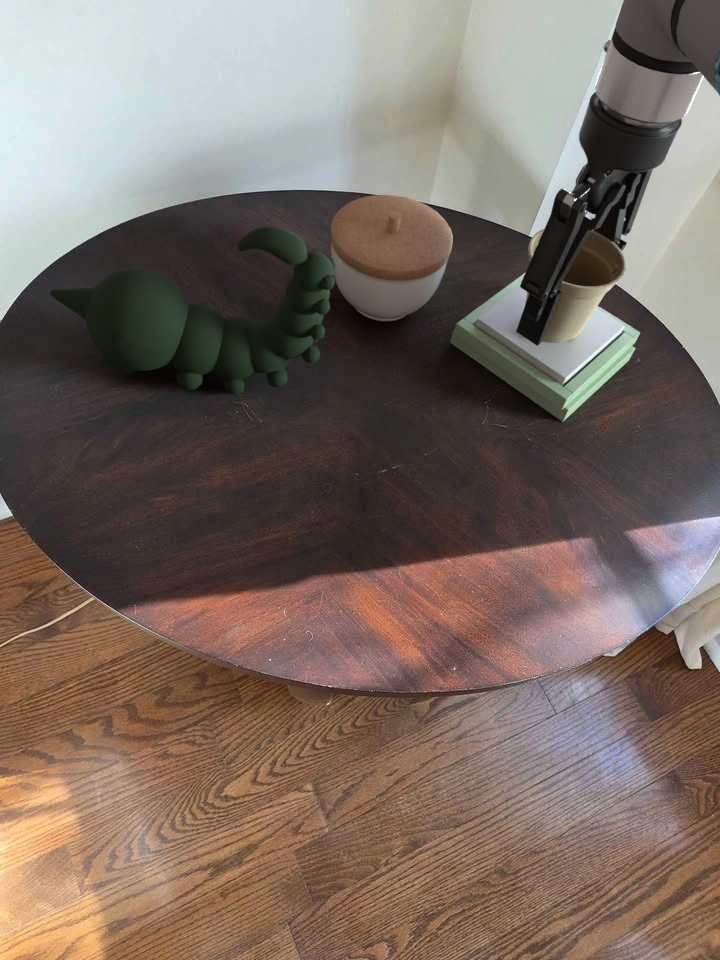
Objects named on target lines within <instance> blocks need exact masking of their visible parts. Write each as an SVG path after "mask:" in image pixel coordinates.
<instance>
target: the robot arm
mask: <svg viewBox="0 0 720 960" xmlns="http://www.w3.org/2000/svg"><path fill="white" fill-rule="evenodd" d="M602 49H603V52H604V53H605V56H604V58H603V62H602V64H601V67H600V71H599V73H598V76H597V79H596V82H595V84H594V85H595V86H594V90H595V91H594V92H593V94H591V96H590V98H589V100H588V104H587V106H586V109H585V113H584V114H583V118H582V121H581V124H580V126H579V130H578V137H577V138H578V143H579V145H580V147H581V149H582V151H583V153H584V155H585V157H586V159H587V163H586V164H584V165H583V167H582V168H581V169H580V171H579V173H578V175H577V176H576V178H575V186H574V188H573V190H572V191H571V192H570V191H568V190H567V189H565V188H560V189H559V190H558V192H557V193H556V195H555V196H554V200H553V204H552V208H551V212H550V215H549V218H548V220H547V222H546V224H545V227H544V228H543V229H544V231H543V234H542V236H541V238H540V240H539V243H538V245H537V247H536V250H535V252H534V254H533V257H532V259H531V261H530V260H529V264H528V266H527V268H526V271H525V272H524V273H525V275H524V277H523V280H522V282H521V285H520V287H521V288H522V289H524V290H525V291H527V292H528V293H529V296H528V299H527V302H526V304H525V307H524V310H523V313H522V316H521V319H520V322H519V324H518V327H517V330H516V332H517V333H519V334H520V335H522V336H523V337H525V338H526V339H528V340H529V341H531V342H532V343H534V344H535V345H537V346H538V345H539V344H540V343H542V340H543V338H544V335H545V333H546V330H547V328H548V325H549V323H550V320H551V318H552V315H553V312H554V310H555V307H556V305H557V302H558V300H559V297H560V295H561V292H560V291H559V290H558V289H559V287H560V285H561V284H562V282H563V280H564V278H565V277H566V275H567V273H568V271H569V270H570V268H571V266H572V264H573V263H574V261H575V259H576V257H577V256H578V254H579V252H580V250H581V249H582V247H583V245H584V243H585V242H586V240H587V238H588V236H589V235H590V233H591V231H592V230H594V231H595V232H598V233H600V234H602V235H604V236H606V237H607V238H609V239H610V240H611V241H612V242H614V243H615V244H616V245H617V246H618V247H619V249H620V250H621V251H622V252H623V250H624V249H626V246H627V241H625V240H623V239H622V235H623V236H624V237H626V236H627V235H629V234H630V233H631V231H632V228H633V226H634V222H635V220H636V218H637V214H638V212H639V209H640V207H641V203H642V201H643V198H644V196H645V192H646V190H647V186H648V185H649V181H650V179H651V176H652V173H653V171H654V170H655V169H656V168H658V167H660V166H661V165H663V163H664V162H665V161H666V159H667V158H668V156H669V153H670V151H671V148H672V147H673V144H674V142H675V140H676V137H677V135H678V133H679V131H680V129H681V126H682V124H683V118H684V117H685V116H686V115H687V114H688V112H689V110H690V108H691V106H692V103H693V102H694V99H695V98H696V97H695V96H696V95H697V92H698V90H699V88H700V85H701V83H702V81H703V79H705V80H706V81H707V82H708V83H709V85H710V86H711V87H712V88H713V89H714V91H715V92H716V93H717V94H718V96H719V97H720V0H623V1H622V4H621V7H620V10H619V13H618V16H617V19H616V22H615V27H614V30H613V33H612V36H611V38H610V39H608V40H607V41H606V42H605V43H604V45H603V48H602ZM588 213H590V214H592V215H594V217H591V216H589V215H588Z"/></svg>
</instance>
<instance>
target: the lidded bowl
mask: <svg viewBox="0 0 720 960" xmlns="http://www.w3.org/2000/svg"><path fill="white" fill-rule="evenodd" d="M453 242H454V239H453V233H452V230H451V227H450V225H449V224H448V222H447V220H446V219H445V218H444V217H443V216H442V215H441V214H440V213H439V212H438V211H437V210H435V209H433V208H432V207H431V206H429V205H427V204H425V203H423V202H421V201H418V200H415V199H413V198H409V197H405V196H400V195H394V194H374V195H367V196H364V197H360V198H357V199H353V200H352V201H350V202H348V203H346V204H345V205H344V206H343V207H341V208H340V209H339V210H338V211H337V212H336V213H335V215H334V217H333V218H332V222H331V225H330V257H332V258H333V259H334V260H335V262H336V266H335V268H334V270H333V272H334V273H333V278H334V280H335V284H336V286H337V289H338V291H339V292H340V294H341V295H342V297H343V298H344V299H345V300H346V302H347V303H349V304H350V305H351V306H352V307H353V308H354V309H355V310H356V311H357V312H358V313H359V314H361V315H362V316H364V317H366V318H368V319H370V320H373V321H378V322H392V321H393V322H394V321H398V320H401V319H403V318H405V317H407V316H408V315H411V314H413V313H415V312H416V311H418V310H419V309H421V308H422V307H424V306H425V305H426V304H427V303H428V302H429V301H430V300H431V298H432V297H433V296H434V295H435V293H436V292H437V290H438V288H439V286H440V284H441V281H442V279H443V276H444V275H445V271H446V268H447V264H448V260H449V258H450V255H451V253H452V249H453Z"/></svg>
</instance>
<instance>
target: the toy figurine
mask: <svg viewBox="0 0 720 960" xmlns="http://www.w3.org/2000/svg"><path fill="white" fill-rule="evenodd" d="M237 249H238V250H239V251H240V252H245V251H247V250H251V249H253V250H260V251H263V252H266V253H269V254H270V255H273V256H274V257H276V258H277V259H278V260H280V261H281V262H283V263H285V264H286V265H290V266H293V274H292V276H291V277H290V278H289V279H288V281H287V283H286V287H285V296H283V298H281V299H280V302H279V303H278V305H277V310H276V312H275V313H273V315H271V316H270V317H269V319H268V320H260V321H257V322H254V321H253V320H251V319H249V318H246V317H244V316H238V315H230V316H224V315H223V314H222V313H220V311H218V309H216V308H214V307H212V306H211V305H208V304H206V303H201V302H200V303H199V302H189V301H188V299H187V297H186V295H185V293H184V292H183V290H182V289H181V288H180V286H179V285H178V284H177V283H176V282H174V281H173V280H172V279H171V278H170V277H168V276H166V275H165V274H163V273H161V272H159V271H156V270H153V269H150V268H146V267H142V266H133V267H125V268H121V269H118V270H115V271H112V272H111V273H109V274H108V275H105V276H104V277H103V278H102V279H101V280H100V281H98V283H96V284H95V285H94V286H90V287H77V288H75V287H74V288H55V289H52V290H50V292H49V294H50V297H52V298H53V299H55V300H56V301H58V302H59V303H60V304H62V305H63V306H65V307H66V308H68V309H69V310H71V311H72V312H73V313H75V314H76V315H78V316H79V317H81V318H82V319H83V320H84V322H85V325H86V329H87V331H88V335H89V337H90V340H91V341H92V342H93V344H94V346H95V348H96V349H97V350H98V352H99V353H100V359H101V361H102V362H103V363H104V364H105V365H109V366H112V365H114V366H115V369H117V371H119V372H120V373H122V374H125V375H134V374H137V373H138V372H141V371H151V370H157V369H160V368H163V367H165V366H167V365H171V366H172V367H173V368H175V369H176V371H175V379H176V383H177V384H178V386H179V387H180V388H182V389H184V390H185V391H194V390H197V388H198V387H200V386H201V385H202V384H203V380H204V375H207V374H210V373H213V372H214V373H215V374H217V375H218V376H219V377H222V378H224V379H225V380H224V384H223V387H224V388H225V391H226V392H227V393H228V394H230V395H232V396H233V395H234V396H238V395H240V394H242V393H243V392H244V390H245V388H246V379H249V378H252V377H253V376H255V375H257V373H258V374H263V375H266V380H267V383H268V385H269V386H271V387H273V388H276V389H279V388H283V387H284V385H286V383H287V382H288V373H287V370H286V369H285V367H286V366H288V364H289V362H290V361H291V360H292V359H293V360H294V359H296V358H299V357H300V356H301V358H302V359H303V361H304V362H305V363H308V364H315V363H316V362H317V361H319V360H320V356H321V351H320V349H319V348H318V347H317V345H314V344H317V343H318V342H319V341H320V340H322V339H323V338H324V337H325V335H326V328H325V327H324V326H323V324H322V323H323V319H324V315H326V314H328V313H329V311H330V308H331V304H330V301H329V299H330V296H331V290H332V289H333V288H334V286H335V284H336V281H335V279H334V274H333V273H334V272H333V270H334V268H335V266H336V262H335V260H334V259H333V258H332V257H331V255H330V256H329V255H325V254H324V253H322V252H320V251H307V250H308V249H307V246H306V243H305V241H304V240H303V239H302V237H301V236H300V235H298V234H296V233H295V232H294V231H292V230H289V229H287V228H284V227H279V226H261V227H258V228H255V229H253V230H251V231H249V232H248V233H246V234H245V235H244V236H242V237H241V238H240V239H239V241H238V243H237Z"/></svg>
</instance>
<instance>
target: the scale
mask: <svg viewBox="0 0 720 960" xmlns="http://www.w3.org/2000/svg"><path fill="white" fill-rule="evenodd" d="M525 273H526V272H523V274H521V275H520V276H519V277H516V279H515V280H513V281H512V282H510V283H509V284H508V285H507V286H505V287H504V288H502V289H500V290H499V292H497V293H496V294H494V295H493V296H491V297H490V298H489V299H488V300H486V301H485V302H483V303H482V304H481V305H480V306H478V307H476V308H475V309H474V310H473V311H471V312H470V313H469V314H467V315H466V316H465V317H463V318H461V319H460V320H459V321H457V322H456V323H455V328H454V329H453V330H452V334H451V337H450V344H451V345H453V346H454V347H455V348H457V349H458V350H459V351H461V352H463V353H464V354H465V355H467V356H468V357H470V358H471V359H473V360H474V361H475V362H476V363H478V364H480V365H481V366H482V367H484V368H485V369H486V370H488V371H490V372H491V373H493V374H494V375H495V376H496V377H498V378H499V379H501V380H503V381H504V382H505V383H507V384H508V385H509V386H510V387H513V388H514V389H515V390H516V391H518V392H519V393H521V394H523V395H524V396H525V397H526V398H528V399H529V400H531V401H532V402H533V403H535V404H537V405H538V406H539V407H541V408H542V409H544V410H545V411H546V412H548V413H549V414H551V415H552V416H553V417H555V418H556V419H557V420H559V421H560V422H562V423H563V422H565V421H566V420H567V419H568V418H569V417H570V416H571V415H572V414H573V413H575V411H576V410H577V409H578V408H579V407H581V405H583V404H584V403H585V402H586V401H587V400H588V399H589V398H590V397H592V395H593V394H594V393H596V392H597V391H598V390H599V389H600V388H601V387H602V386H604V384H605V383H607V382H608V381H609V380H610V379H611V378H612V377H613V376H614V375H615V374H616V373H618V372H619V370H621V368H623V367H624V366H625V365H626V364H627V363H628V362H629V361H630V360H631V358H632V356H633V354H634V352H635V350H636V347H635V346H634V345H635V344H636V342H637V340H638V338H639V336H640V334H641V332H640V331H638V330H637V329H636V328H634V327H633V326H631V325H629V324H627V323H626V322H624V321H623V320H621V319H620V318H618V317H617V316H615V315H613V314H612V313H611V312H608V311H607V310H605V309H604V308H602V307H601V306H599V305H598V306H597V307H596V308H597V309H598V310H600V311H602V312H603V313H605V314H606V315H608V316H610V317H611V318H613V319H614V320H616V321H617V322H619V323H621V324H622V325H624V328H623V330H622V332H621V334H620V336H619V337H618V338H617V339H616V340H615V341H614V342H613V343H611V344H610V345H609V346H608V347H607V348H606V349H605V350H604V351H603V352H601V353H600V354H599V355H598V356H597V357H596V358H595V359H594V360H592V361H591V362H590V363H589V364H588V365H587V366H586V367H585V368H583V369H582V370H581V371H580V372H579V373H578V374H577V375H576V376H575V377H573V378H572V379H571V380H570V381H569V382H568V383H567V384H566V385H564V386H561V385H560V384H558V383H557V382H555V381H554V380H552V379H551V378H549V377H548V376H547V375H545V374H544V373H542V372H541V371H539V370H538V369H536V368H535V367H533V366H532V365H531V364H529V363H528V362H526V361H525V360H523V359H522V358H520V357H519V356H517V355H516V354H514V353H513V352H512V351H510V350H509V349H507V348H506V347H504V346H503V345H501V344H500V343H498V342H497V341H496V340H494V339H493V338H491V337H490V336H488V335H487V334H485V333H484V332H482V331H481V330H479V329H478V328H477V327H475V325H476V322H477V319H478V318H479V317H480V316H482V315H483V314H484V313H486V312H487V311H488V310H490V309H491V308H492V307H494V306H495V305H496V304H498V303H499V302H500V301H502V300H503V299H504V298H506V297H507V296H508V295H510V294H511V293H512V292H514V291H515V290H516V289H518V288H519V287H520V285H521V282H522V280H523V277H524V275H525Z"/></svg>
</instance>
